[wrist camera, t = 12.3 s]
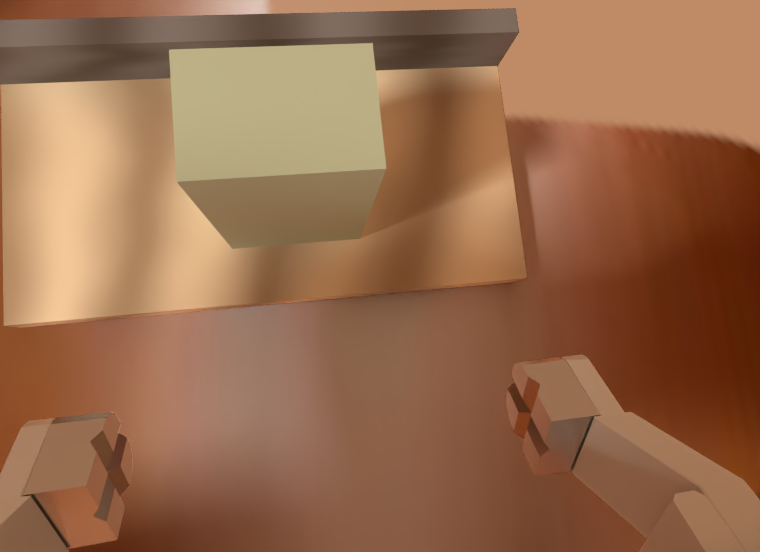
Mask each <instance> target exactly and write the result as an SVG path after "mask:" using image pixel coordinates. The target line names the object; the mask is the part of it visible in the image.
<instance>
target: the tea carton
mask: <svg viewBox="0 0 760 552" xmlns="http://www.w3.org/2000/svg"><path fill="white" fill-rule="evenodd" d="M169 60H170V78H171V95H172V112H173V130H174V147H175V164H176V182H177V183H178V184H179V185H180V187H181V188H182V189H183V190H184V191H185V193H186V194H187V195H188V196H189V197H190V199H191V200H192V201H193V202H194V203H195V205H196V206H197V207H198V208H199V209H200V211H201V212H202V213H203V214H204V215H205V217H206V218H207V219H208V220H209V221H210V223H211V224H212V225H213V226H214V227H215V229H216V230H217V231H218V232H219V233H220V235H221V236H222V237H223V238H224V239H225V241H226V242H227V243H228V244H229V245H230V247H231V248H232V249H238V248H250V247H263V246H275V245H288V244H301V243H313V242H326V241H339V240H351V239H360V237H361V235H362V232H363V229H364V227H365V224H366V221H367V219H368V216H369V213H370V211H371V208H372V206H373V203H374V200H375V198H376V195H377V192H378V190H379V187H380V184H381V182H382V179H383V176H384V174H385V171H386V160H385V151H384V142H383V133H382V124H381V115H380V106H379V97H378V88H377V79H376V69H375V60H374V51H373V43H360V44H328V45H297V46H265V47H234V48H202V49H171V50H169Z"/></svg>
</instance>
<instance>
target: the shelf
mask: <svg viewBox="0 0 760 552" xmlns="http://www.w3.org/2000/svg"><path fill="white" fill-rule="evenodd" d="M518 33H519V29H518V21H517V15H516V9H515V8H512V9H511V8H507V9H464V10H420V11H378V12H334V13H293V14H292V13H291V14H246V15H203V16H160V17H116V18H73V19H30V20H0V84H1V140H2V217H3V294H4V326H11V327H33V326H43V325H54V324H65V323H76V322H87V321H98V320H108V319H119V318H130V317H141V316H152V315H163V314H173V313H184V312H195V311H206V310H217V309H228V308H239V307H249V306H260V305H271V304H282V303H293V302H304V301H314V300H325V299H336V298H347V297H358V296H369V295H379V294H390V293H401V292H412V291H423V290H434V289H444V288H455V287H466V286H477V285H488V284H499V283H510V282H517V281H520V280H523V279H526V278H527V272H526V265H525V258H524V251H523V243H522V236H521V229H520V222H519V215H518V208H517V201H516V193H515V186H514V179H513V172H512V165H511V158H510V151H509V144H508V136H507V129H506V122H505V115H504V108H503V101H502V94H501V87H500V79H499V72H498V65H499V63H500V61H501V60H502V58H503V57H504V55H505V53H506V52H507V50H508V49H509V47H510V46H511V44H512V42H513V41H514V39H515V38H516V36H517V35H518ZM360 43H373V51H374V60H375V69H376V79H377V88H378V97H379V106H380V115H381V124H382V133H383V142H384V151H385V160H386V171H385V174H384V176H383V179H382V182H381V184H380V187H379V190H378V192H377V195H376V198H375V200H374V203H373V206H372V208H371V211H370V213H369V216H368V219H367V221H366V224H365V227H364V229H363V232H362V235H361V237H360V239H351V240H339V241H326V242H313V243H301V244H288V245H275V246H263V247H250V248H238V249H232V248H231V247H230V245H229V244H228V243H227V242H226V241H225V239H224V238H223V237H222V236H221V235H220V233H219V232H218V231H217V230H216V229H215V227H214V226H213V225H212V224H211V223H210V221H209V220H208V219H207V218H206V217H205V215H204V214H203V213H202V212H201V211H200V209H199V208H198V207H197V206H196V205H195V203H194V202H193V201H192V200H191V199H190V197H189V196H188V195H187V194H186V193H185V191H184V190H183V189H182V188H181V187H180V185H179V184H178V183H177V182H176V164H175V147H174V130H173V112H172V95H171V78H170V60H169V50H171V49H202V48H234V47H265V46H297V45H328V44H360Z"/></svg>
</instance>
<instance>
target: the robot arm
mask: <svg viewBox="0 0 760 552" xmlns="http://www.w3.org/2000/svg"><path fill="white" fill-rule="evenodd" d="M511 376H512V378H513V380H514V383H513V384H512V385H511V386H510V387H509V388H508V390H507V395H506V409H507V414H508V418H509V422H510V424H511V426H512V429H513V431H514V432H515V433H517V434H518V435H520V436H521V437H522V438H524V442H523V445H522V451H523V453H524V456H525V458H526V460H527V462H528V464H529V467H530V469H531V471H532V473H533V475H534V476H538V475H546V474H554V473H562V472H570V471H572V474H573V475H574V476H575V477H576V478H578V479H579V480H580V481H581V482H582V483H583V484H584V485H586V486H587V487H588V488H589V489H590V490H591V491H592V492H593V493H595V494H596V495H597V496H598V497H599V498H600V499H601V500H603V501H604V502H605V503H606V504H607V505H608V506H609V507H611V508H612V509H613V510H614V511H615V512H616V513H617V514H619V515H620V516H621V517H622V518H623V519H624V520H625V521H627V522H628V523H629V524H630V525H631V526H632V527H633V528H635V529H636V530H637V531H638V532H639V533H640V534H641V535H643V536H644V537H645V538H646V541H645V542H644V544H643V546H642V547H641V549H640V550H639V552H760V500H759V498H758V497H757V496H756V495H755V493H754V492H753V491H752V489H751V488H750V487H749V486H748V484H747V483H746V482H745V481H744V480H743V479H741V478H739V477H738V476H736V475H734V474H733V473H731V472H730V471H728V470H726V469H725V468H723V467H721V466H720V465H718V464H716V463H715V462H713V461H711V460H710V459H708V458H707V457H705V456H703V455H702V454H700V453H698V452H697V451H695V450H693V449H692V448H690V447H688V446H687V445H685V444H684V443H682V442H680V441H679V440H677V439H675V438H674V437H672V436H670V435H669V434H667V433H665V432H664V431H662V430H660V429H659V428H657V427H656V426H654V425H652V424H651V423H649V422H647V421H646V420H644V419H642V418H641V417H639V416H637V415H636V414H634V413H633V412H624V410H623V409H622V408H621V406H620V405H619V403H618V402H617V400H616V399H615V397H614V396H613V394H612V393H611V391H610V390H609V388H608V387H607V385H606V384H605V382H604V381H603V380H602V378H601V377H600V375H599V374H598V372H597V371H596V369H595V368H594V366H593V365H592V363H591V362H590V360H589V359H588V357H586V356H585V355H583V354H581V355H573V356H565V357H560V358H559V357H554V358H547V359H539V360H532V361H524V362H517V363H516V364H515V365H514V366H513V369H512V373H511ZM120 424H121V423H120V421H119V419H118V417H117V415H116V413H112V412H110V413H99V414H89V415H79V416H69V417H58V418H51V419H41V420H32V421H27V422H26V423H25V424H24V425H23V427H22V428H21V429H20V431H19V433H18V435H17V437H16V440H15V442H14V444H13V446H12V449H11V451H10V453H9V455H8V458H7V460H6V462H5V464H4V467H3V469H2V471H1V473H0V552H69V550H68V549H71V548H76V547H82V546H87V545H93V544H99V543H104V542H110V541H115V540H117V538H118V534H119V529H120V525H121V520H122V516H123V512H124V507H125V506H124V504H123V502H122V500H121V498H120V495H121V494H122V493H123V492H124V491H125V489H126V488H127V487H128V486H129V485H130V480H131V475H132V457H133V456H132V451H131V446H130V443H129V441H128V438H127V437H125V436H123V435H121V434H119V433H118V432H119V428H120Z"/></svg>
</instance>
